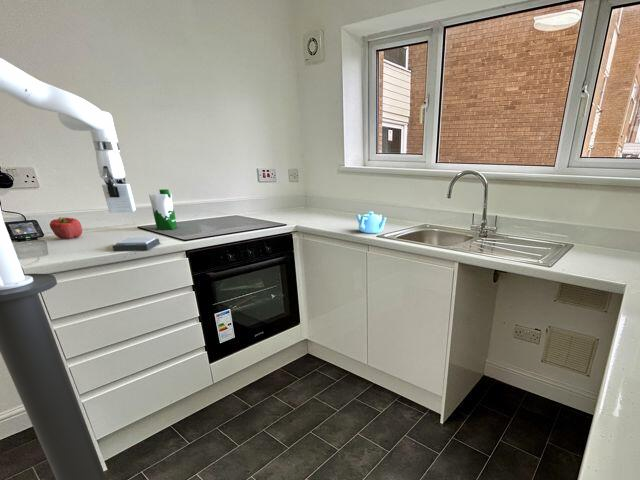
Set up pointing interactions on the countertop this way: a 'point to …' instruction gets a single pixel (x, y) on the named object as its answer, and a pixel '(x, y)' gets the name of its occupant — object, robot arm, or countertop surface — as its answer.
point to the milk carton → (163, 210)
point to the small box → (120, 199)
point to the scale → (136, 244)
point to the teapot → (371, 223)
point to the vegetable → (66, 227)
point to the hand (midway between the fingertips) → (119, 196)
